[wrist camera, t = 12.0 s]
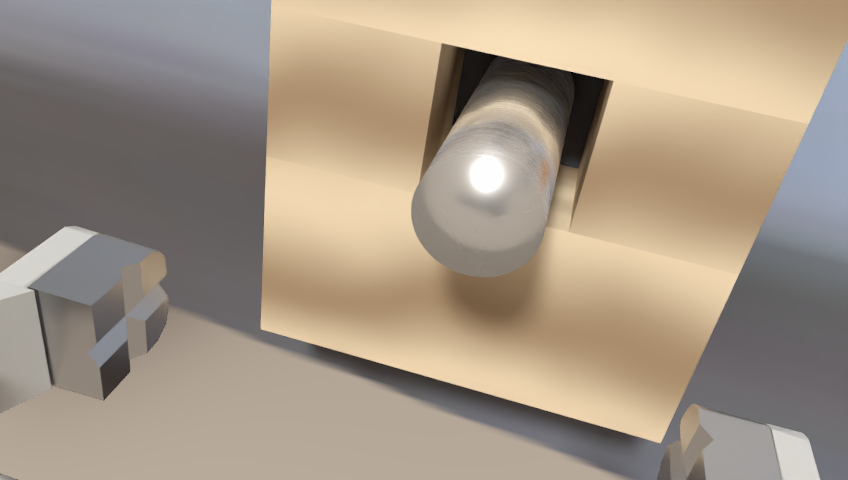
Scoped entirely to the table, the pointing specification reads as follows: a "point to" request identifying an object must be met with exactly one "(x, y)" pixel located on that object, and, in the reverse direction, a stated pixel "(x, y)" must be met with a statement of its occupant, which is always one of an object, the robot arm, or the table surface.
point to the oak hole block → (572, 197)
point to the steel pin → (496, 171)
